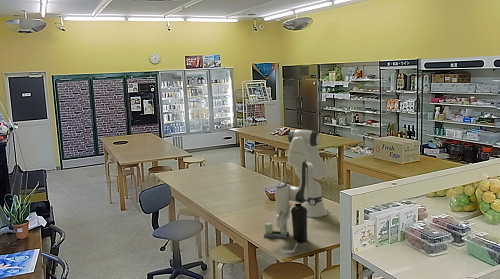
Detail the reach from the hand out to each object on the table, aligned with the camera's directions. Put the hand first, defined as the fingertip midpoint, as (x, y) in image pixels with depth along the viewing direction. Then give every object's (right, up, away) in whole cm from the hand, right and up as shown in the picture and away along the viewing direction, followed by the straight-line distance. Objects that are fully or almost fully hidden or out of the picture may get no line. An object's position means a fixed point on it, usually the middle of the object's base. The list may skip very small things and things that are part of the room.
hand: (283, 229), depth 278 cm
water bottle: (+10, -6, -4) cm, 13 cm away
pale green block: (0, -3, 0) cm, 3 cm away
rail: (-4, -6, +3) cm, 8 cm away
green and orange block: (-9, -5, +4) cm, 11 cm away
